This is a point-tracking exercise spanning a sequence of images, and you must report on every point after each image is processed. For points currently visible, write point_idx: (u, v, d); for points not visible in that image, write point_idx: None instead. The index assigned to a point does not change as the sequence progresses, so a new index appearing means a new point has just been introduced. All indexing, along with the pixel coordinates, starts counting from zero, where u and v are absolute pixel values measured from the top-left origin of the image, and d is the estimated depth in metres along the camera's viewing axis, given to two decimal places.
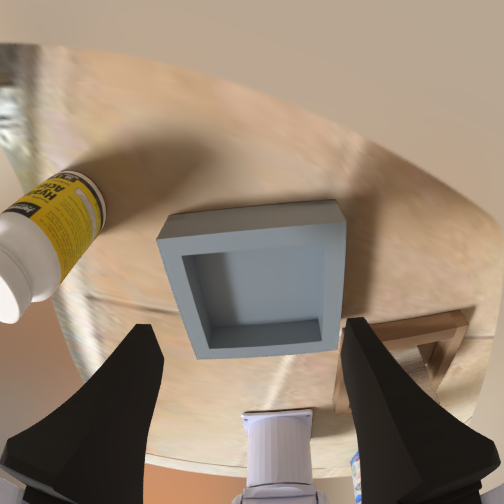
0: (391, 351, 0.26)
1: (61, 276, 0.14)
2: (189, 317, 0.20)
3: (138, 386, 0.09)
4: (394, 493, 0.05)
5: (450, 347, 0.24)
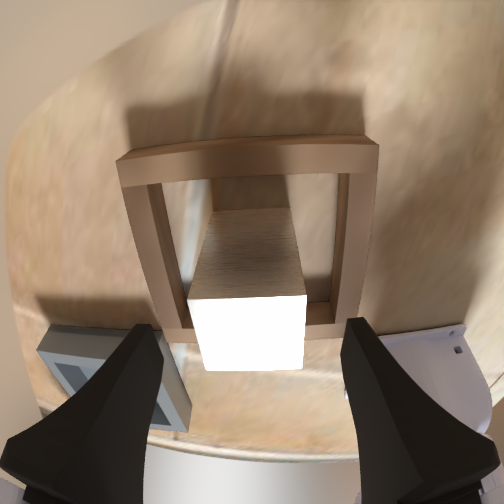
0: None
1: None
2: None
3: (137, 386, 0.09)
4: (394, 493, 0.05)
5: (175, 177, 0.13)
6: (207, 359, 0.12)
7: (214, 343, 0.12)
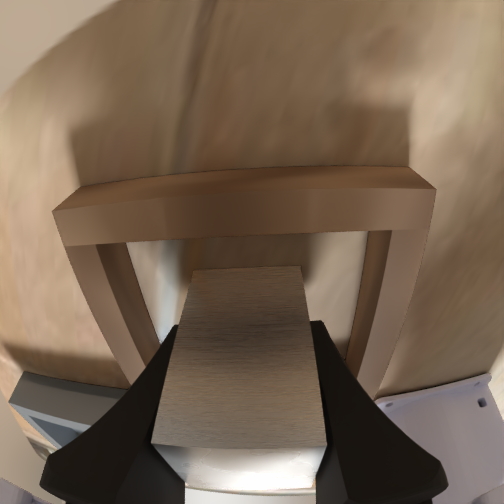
0: None
1: None
2: None
3: None
4: None
5: (133, 235, 0.09)
6: (189, 481, 0.08)
7: (195, 473, 0.07)
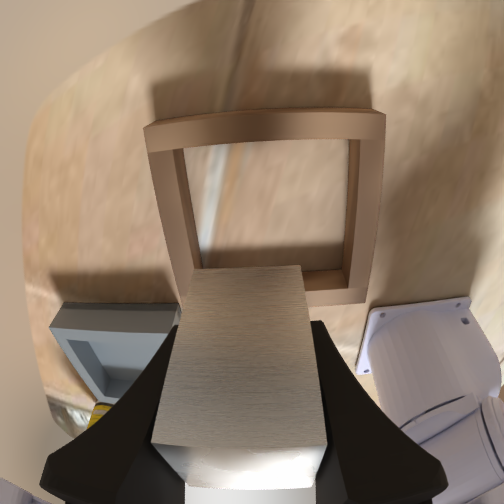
0: None
1: None
2: None
3: None
4: None
5: (200, 141, 0.14)
6: (189, 480, 0.08)
7: (195, 473, 0.07)
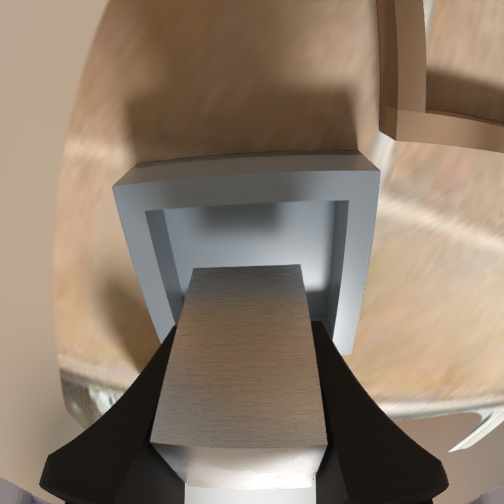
0: None
1: None
2: None
3: None
4: None
5: None
6: (188, 480, 0.08)
7: (195, 472, 0.07)
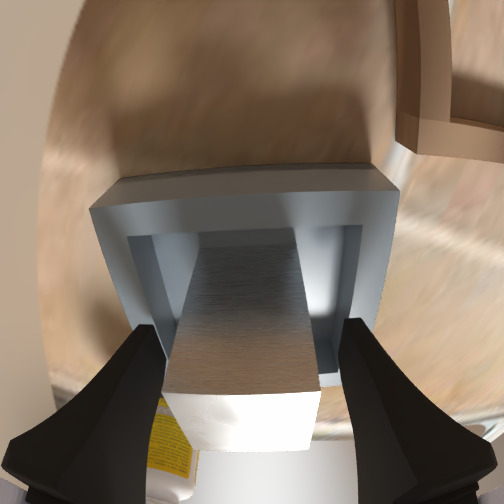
0: None
1: (166, 471, 0.15)
2: None
3: (140, 386, 0.09)
4: (390, 494, 0.05)
5: None
6: (194, 442, 0.09)
7: (200, 430, 0.08)
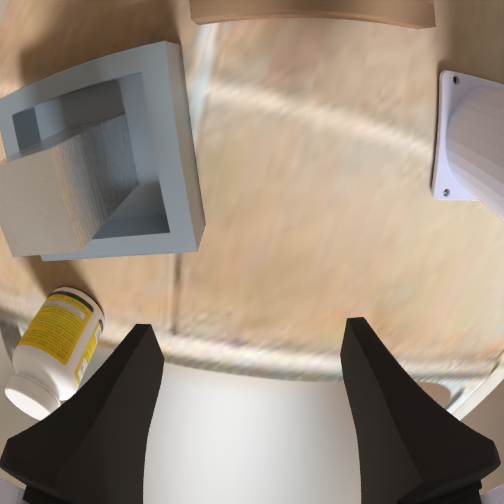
0: None
1: (45, 351, 0.16)
2: (117, 247, 0.16)
3: (138, 386, 0.09)
4: (394, 493, 0.05)
5: None
6: (9, 241, 0.10)
7: (7, 219, 0.10)
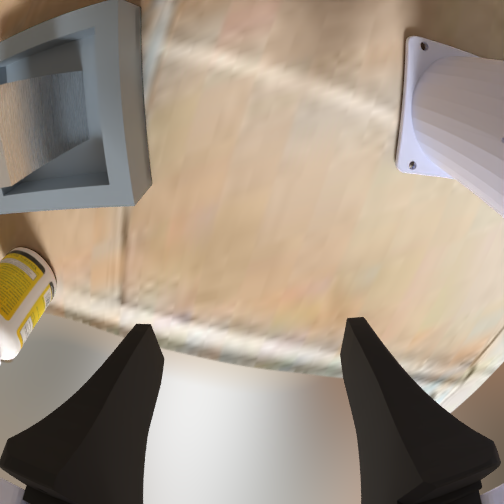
0: None
1: None
2: (61, 200, 0.15)
3: (138, 386, 0.09)
4: (394, 493, 0.05)
5: None
6: None
7: None
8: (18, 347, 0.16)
